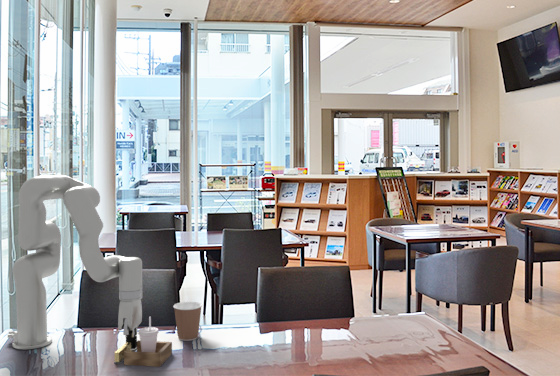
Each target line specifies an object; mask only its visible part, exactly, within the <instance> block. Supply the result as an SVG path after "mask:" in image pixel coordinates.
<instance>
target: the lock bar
mask: <svg viewBox="0 0 560 376" xmlns="http://www.w3.org/2000/svg"><path fill="white" fill-rule="evenodd" d="M125 351H131V343H129V342H127V343H126V342H125V343H124V344H123V345H122V346H121V347H120V348H118V349H117V350H115V351H114V355H113V356H114V362H120V361H121V360H122V359H123V358H124V352H125Z"/></svg>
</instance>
